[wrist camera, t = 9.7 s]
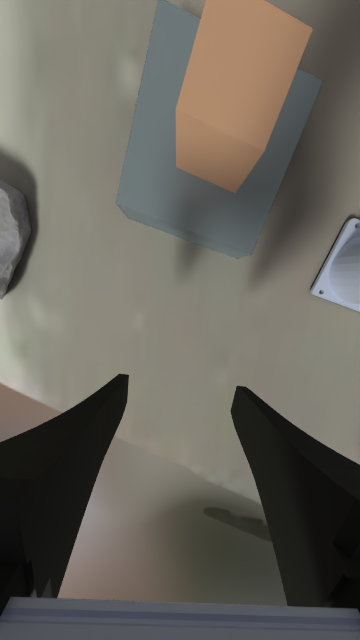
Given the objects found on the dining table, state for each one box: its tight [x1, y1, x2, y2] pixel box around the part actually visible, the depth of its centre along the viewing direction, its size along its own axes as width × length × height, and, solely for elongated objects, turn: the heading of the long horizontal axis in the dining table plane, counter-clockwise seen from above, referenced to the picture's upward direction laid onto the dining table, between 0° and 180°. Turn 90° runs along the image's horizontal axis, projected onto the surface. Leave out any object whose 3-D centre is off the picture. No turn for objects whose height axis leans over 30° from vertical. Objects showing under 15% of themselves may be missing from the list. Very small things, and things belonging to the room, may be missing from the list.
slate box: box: [116, 0, 323, 259], centre depth 14 cm, size 12×12×4 cm
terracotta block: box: [176, 0, 313, 193], centre depth 10 cm, size 5×5×4 cm
